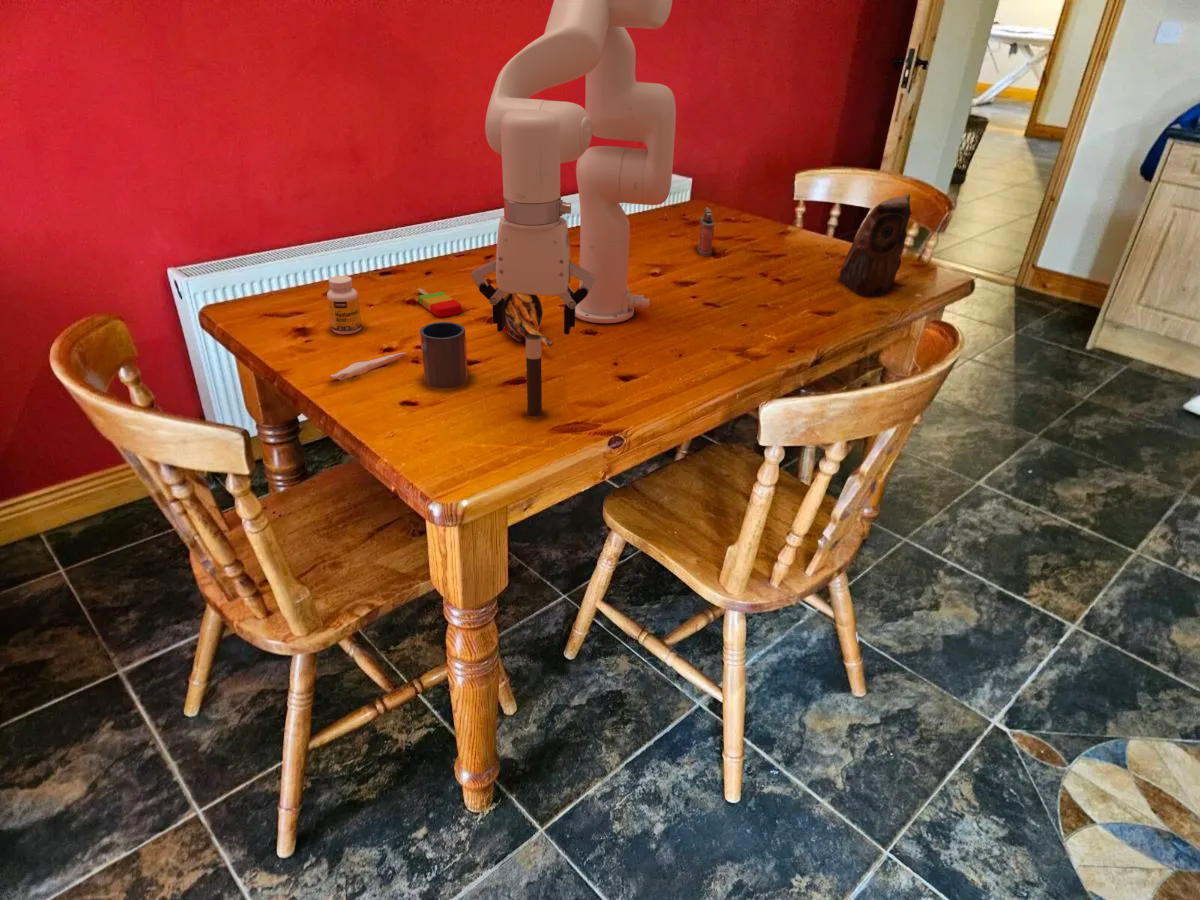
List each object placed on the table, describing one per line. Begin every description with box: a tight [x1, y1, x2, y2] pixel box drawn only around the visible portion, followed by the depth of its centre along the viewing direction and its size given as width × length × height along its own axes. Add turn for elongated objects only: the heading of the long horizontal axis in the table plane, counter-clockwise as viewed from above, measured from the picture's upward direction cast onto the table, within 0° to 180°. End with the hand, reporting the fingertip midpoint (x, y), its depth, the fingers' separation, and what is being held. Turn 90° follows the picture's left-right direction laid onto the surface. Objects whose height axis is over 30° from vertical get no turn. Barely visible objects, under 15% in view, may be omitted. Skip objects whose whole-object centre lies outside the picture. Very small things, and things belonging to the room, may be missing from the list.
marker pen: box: [525, 334, 543, 418], centre depth 118 cm, size 2×2×13 cm
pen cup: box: [419, 321, 469, 389], centre depth 128 cm, size 7×7×9 cm
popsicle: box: [416, 288, 463, 318], centre depth 160 cm, size 6×15×2 cm, turn 35°
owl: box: [837, 193, 912, 298], centre depth 171 cm, size 13×13×20 cm
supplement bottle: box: [326, 275, 362, 335], centre depth 145 cm, size 5×5×10 cm
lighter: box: [697, 206, 716, 257], centre depth 194 cm, size 8×3×10 cm, turn 179°
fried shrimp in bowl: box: [503, 293, 554, 349], centre depth 144 cm, size 9×11×18 cm
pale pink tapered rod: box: [330, 351, 408, 381], centre depth 133 cm, size 15×3×2 cm, turn 139°
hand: (534, 329), depth 115 cm, fingers open, 9 cm apart
